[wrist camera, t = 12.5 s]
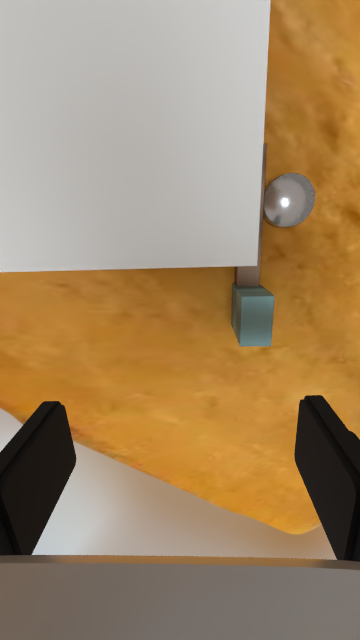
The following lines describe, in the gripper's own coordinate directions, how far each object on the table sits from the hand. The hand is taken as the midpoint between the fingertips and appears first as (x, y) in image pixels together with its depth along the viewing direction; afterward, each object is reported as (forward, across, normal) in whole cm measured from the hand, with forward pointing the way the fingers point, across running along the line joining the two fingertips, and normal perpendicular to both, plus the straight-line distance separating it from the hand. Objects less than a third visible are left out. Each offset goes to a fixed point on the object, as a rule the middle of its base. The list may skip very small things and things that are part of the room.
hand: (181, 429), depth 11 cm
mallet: (+23, -7, -5) cm, 25 cm away
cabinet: (+24, +4, -12) cm, 27 cm away
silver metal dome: (+24, -11, -9) cm, 28 cm away
